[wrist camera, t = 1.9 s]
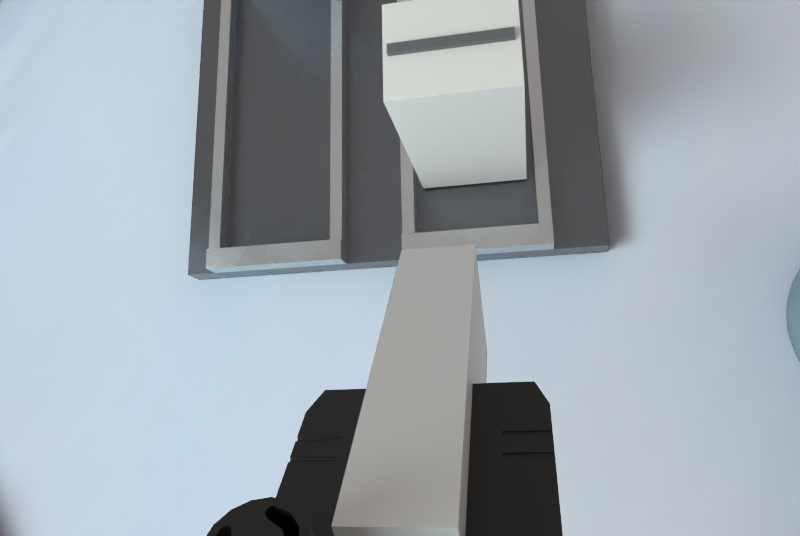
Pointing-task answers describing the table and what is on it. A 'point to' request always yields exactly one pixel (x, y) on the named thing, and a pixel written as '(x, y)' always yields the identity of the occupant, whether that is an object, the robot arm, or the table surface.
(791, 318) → the green tapered cup
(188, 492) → the table surface
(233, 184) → the grey board
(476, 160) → the white fader
